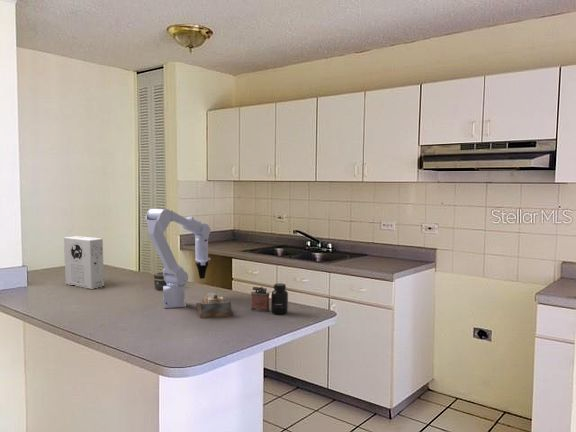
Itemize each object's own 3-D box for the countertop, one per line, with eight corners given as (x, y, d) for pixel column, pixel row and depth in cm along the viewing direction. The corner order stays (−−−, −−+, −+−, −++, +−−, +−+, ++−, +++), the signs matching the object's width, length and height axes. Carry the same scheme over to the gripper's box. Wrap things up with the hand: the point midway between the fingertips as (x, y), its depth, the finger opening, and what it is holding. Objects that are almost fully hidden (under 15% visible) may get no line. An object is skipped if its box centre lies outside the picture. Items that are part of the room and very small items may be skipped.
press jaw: (206, 307, 205) (206, 299, 204) (204, 300, 216) (204, 293, 216) (221, 306, 206) (220, 298, 206) (217, 299, 218) (217, 292, 217)
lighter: (270, 310, 207) (270, 286, 206) (267, 312, 203) (267, 288, 203) (253, 308, 209) (252, 285, 209) (249, 310, 206) (249, 287, 205)
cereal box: (104, 286, 251) (102, 238, 249) (91, 289, 245) (89, 240, 243) (78, 282, 263) (76, 235, 261) (65, 284, 256) (63, 237, 254)
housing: (208, 310, 200) (208, 296, 200) (207, 308, 204) (207, 294, 204) (223, 309, 202) (223, 296, 202) (222, 307, 206) (222, 293, 205)
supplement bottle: (275, 316, 198) (275, 286, 197) (268, 312, 204) (268, 283, 203) (290, 314, 201) (290, 285, 200) (283, 310, 207) (283, 282, 206)
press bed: (199, 317, 195) (199, 304, 195) (195, 300, 224) (194, 288, 223) (232, 315, 198) (232, 302, 198) (223, 298, 227) (223, 286, 227)
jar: (150, 290, 244) (149, 274, 244) (162, 285, 254) (161, 271, 253) (166, 291, 241) (166, 276, 240) (178, 287, 250) (178, 272, 249)
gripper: (212, 251, 219) (212, 281, 220) (209, 246, 233) (209, 274, 234) (196, 251, 217) (196, 281, 219) (194, 247, 232) (194, 275, 233)
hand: (202, 278), depth 226 cm, fingers closed
